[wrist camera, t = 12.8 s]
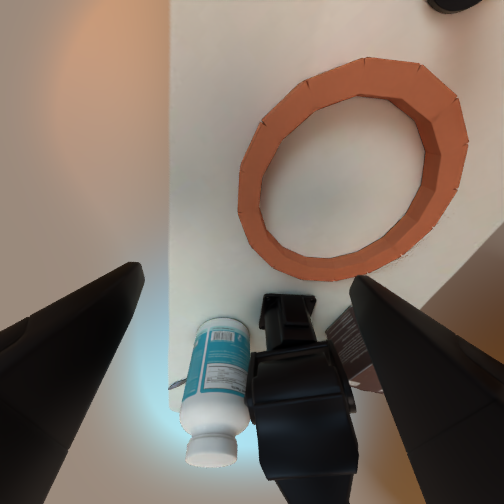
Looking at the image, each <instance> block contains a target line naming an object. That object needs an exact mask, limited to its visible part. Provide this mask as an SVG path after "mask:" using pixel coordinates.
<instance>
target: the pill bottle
mask: <svg viewBox="0 0 504 504" xmlns="http://www.w3.org/2000/svg"><path fill="white" fill-rule="evenodd" d="M249 360H250V335H249V332H248V329H247V328H246V327H245V326H244V325H243V324H242V323H240V322H239V321H236V320H234V319H229V318H216V319H212V320H209V321H207V322H205V323H204V324H202V325H201V326H200V328H199V329H198V331H197V334H196V338H195V343H194V348H193V352H192V357H191V362H190V367H189V372H188V376H187V381H186V385H185V390H184V395H183V399H182V404H181V409H180V415H179V416H180V423H181V425H182V427H183V429H184V430H185V431H186V432H187V433H189V434H190V435H192V438H191V439H190V441H189V443H188V444H187V452H186V458H185V460H186V462H187V463H188V464H190V465H193V466H197V467H206V468H213V467H224V466H228V465H231V464H233V463H235V462H236V460H237V441H236V439H235V436H236V435H238V434H239V433H241V432H242V431H244V430H245V429H246V427H247V426H248V424H249V422H250V416H249V411H248V408H247V406H246V405H245V404H244V396H245V391H246V383H247V375H248V367H249Z"/></svg>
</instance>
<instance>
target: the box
mask: <svg viewBox="0 0 504 504" xmlns="http://www.w3.org/2000/svg"><path fill="white" fill-rule="evenodd" d="M326 335H327V339H328V340H329V339H332V341H333V344H334V346H335V348H336V351H337V353H338V356H339V358H340V360H341V363H342V365H343V367H344V370H345V372H346V375H347V378H348V380H349V383H350V387H354V388H357V389H360V390H363V391H371V392H375V393H381V394H383V393H384V392H383V390H382V387H381V385H380V382H379V379H378V377H377V374H376V372H375V369H374V366H373V364H372V361H371V359H370V356H369V353H368V351H367V348H366V346H365V343H364V340H363V338H362V335H361V333H360V330H359V327H358V324H357V321H356V317H355V313H354V309H353V307H349V308H348V309H347V310H346V311H345V312H344V313H343V314H342V315H341V316H340V317H339V318H338V319H337V320H336V321H335V322H334V323H333V324H332V325H331V326H330V327H329V328H328V329H327V330H326Z"/></svg>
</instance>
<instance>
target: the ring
mask: <svg viewBox="0 0 504 504" xmlns="http://www.w3.org/2000/svg"><path fill="white" fill-rule="evenodd" d="M354 96H360V97H369V98H378V99H387V100H389V101H390V102H392V103H393V104H394V105H395V106H397V107H398V108H399V109H400V110H402V111H403V112H404V113H406V114H407V115H408V116H409V117H411V118H412V119H413V120H414V121H415V122H416V125H417V128H418V131H419V134H420V137H421V140H422V142H423V145H424V148H425V151H426V154H425V162H424V169H423V177H422V184H421V186H420V188H419V190H418V192H417V194H416V196H415V198H414V200H413V201H412V203H411V205H410V207H409V209H408V211H407V213H406V215H405V216H404V217H403V218H402V219H401V220H400V221H399V222H398V223H397V224H396V225H395V226H394V227H393V228H392V229H391V230H390V231H389V232H388V233H387V234H386V235H385V236H384V237H383V238H381V239H379V240H377V241H376V242H374V243H372V244H370V245H369V246H367V247H365V248H363V249H362V250H360V251H358V252H355V253H351V254H347V255H343V256H339V257H335V258H331V259H328V258H312V257H304V256H302V255H300V254H297V253H295V252H293V251H291V250H288V249H286V248H284V247H282V246H281V245H280V244H279V243H278V241H277V240H276V239H275V238H274V237H273V236H272V235H271V234H270V233H269V232H268V230H267V229H266V227H265V223H264V220H263V217H262V214H261V211H260V208H259V203H260V194H261V185H262V177H263V175H264V173H265V171H266V169H267V167H268V166H269V164H270V162H271V160H272V158H273V156H274V154H275V152H276V151H277V149H278V147H279V145H280V143H281V141H282V140H283V139H284V138H285V137H286V136H287V135H289V134H290V133H291V132H292V131H293V130H294V129H295V128H297V127H298V126H299V125H300V124H301V123H302V122H303V121H304V120H306V119H307V118H308V117H309V116H310V115H311V114H312V113H313V112H315V111H316V110H318V109H321V108H324V107H327V106H330V105H332V104H335V103H338V102H341V101H343V100H346V99H349V98H352V97H354ZM456 97H457V95H456V94H455V93H454V92H452V91H451V90H450V89H449V88H448V87H447V86H446V85H445V84H444V83H443V82H441V81H440V80H439V79H438V78H437V77H436V76H435V75H434V74H433V73H431V72H430V71H429V70H428V69H427V68H426V67H425V66H424V65H420V64H419V63H413V62H404V61H396V60H388V59H379V58H371V57H366V58H361V59H358V60H356V61H353V62H350V63H348V64H345V65H343V66H340V67H337V68H335V69H332V70H330V71H327V72H325V73H322V74H319V75H317V76H314V77H312V78H309V79H307V80H304V81H303V82H302V83H299V84H298V85H297V86H296V87H295V88H294V89H293V90H292V91H291V92H290V93H289V94H288V95H287V96H286V97H285V98H284V99H283V100H282V101H281V102H279V103H278V104H277V105H276V106H275V107H274V108H273V109H272V110H271V111H270V112H269V113H268V114H267V115H266V116H265V117H264V118H263V119H262V121H263V123H262V122H260V124H259V126H258V128H257V130H256V132H255V134H254V136H253V139H252V141H251V143H250V145H249V147H248V149H247V152H246V154H245V156H244V158H243V160H242V162H241V166H240V172H239V192H238V216H239V218H240V221H241V223H242V226H243V229H244V231H245V234H246V236H247V239H248V242H249V244H250V245H251V247H252V248H253V249H254V250H255V251H256V252H257V253H258V254H259V255H260V256H261V257H262V258H263V259H264V260H265V261H266V262H267V263H268V264H269V265H270V266H271V267H273V268H274V269H276V270H278V271H281V272H283V273H286V274H288V275H291V276H293V277H296V278H298V279H300V280H301V279H302V280H314V281H332V282H333V280H334V281H339V280H343V279H347V278H352V277H356V276H357V275H365V274H367V272H368V273H371V272H372V271H374V270H376V269H378V268H380V267H382V266H384V265H386V264H388V263H390V262H392V261H394V260H395V259H397V258H399V257H401V254H402V255H404V254H405V253H406V252H407V251H408V250H409V249H411V248H412V247H413V246H414V245H415V244H416V243H417V242H418V241H419V240H421V239H422V238H423V237H424V236H425V235H426V234H427V233H428V232H429V231H431V230H432V229H433V228H432V227H435V225H436V224H437V222H438V221H439V219H440V217H441V216H442V214H443V213H444V211H445V209H446V208H447V206H448V205H449V203H450V202H451V200H452V198H453V197H454V195H455V194H456V192H457V191H458V190H457V189H456V188H458V187H459V184H460V179H461V175H462V171H463V166H464V162H465V158H466V153H467V149H468V144H467V143H468V142H469V140H468V136H467V131H466V127H465V123H464V119H463V114H462V110H461V106H460V102H459V98H456Z"/></svg>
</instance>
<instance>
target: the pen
mask: <svg viewBox="0 0 504 504" xmlns="http://www.w3.org/2000/svg"><path fill="white" fill-rule="evenodd" d="M186 381H187V379H185V380H183V381H179V382H177V383H175V384H173V385H171V386H170V387H169V388H168V390H170V389H173V388H176V387H178V386H180V385H182V384H184V383H186Z"/></svg>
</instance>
